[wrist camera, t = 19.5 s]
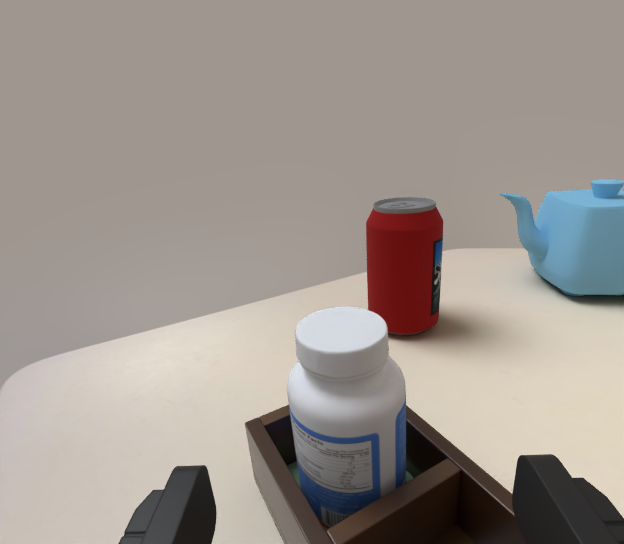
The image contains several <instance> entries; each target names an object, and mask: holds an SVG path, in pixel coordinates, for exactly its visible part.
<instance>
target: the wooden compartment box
mask: <svg viewBox="0 0 624 544" xmlns="http://www.w3.org/2000/svg"><path fill="white" fill-rule="evenodd" d="M245 427H246V433H247V438H248V444H249V450H250V456H251V462H252V467H253V473H254V479H255V481H256V483H257V485H258V488H259V490H260V492H261V494H262V496H263V498H264V500H265V503H266V505H267V507H268V509H269V511H270V513H271V516H272V518H273V520H274V522H275V524H276V526H277V528H278V531H279V533H280V535H281V537H282V539H283V541H284V543H285V544H526V542H525V540H524V537H523V535H522V533H521V531H520V529H519V527H518V525H517V522H516V519H515V516H514V512H513V506H512V495H513V494H511V493H510V492H509V491H508V490H507V489H505V488H504V487H503V486H502V485H501V484H499V483H498V482H497V481H496V480H495V479H494V478H492V477H491V476H490V475H489V474H488V473H486V472H485V471H484V470H483V469H482V468H480V467H479V466H478V465H477V464H476V463H474V462H473V461H472V460H471V459H470V458H468V457H467V456H466V455H465V454H464V453H463V452H461V451H460V450H459V449H458V448H457V447H455V446H454V445H453V444H452V443H451V442H449V441H448V440H447V439H446V438H445V437H443V436H442V435H441V434H440V433H439V432H437V431H436V430H435V429H434V428H433V427H432V426H430V425H429V424H428V423H427V422H426V421H424V420H423V419H422V418H421V417H420V416H418V415H417V414H416V413H415V412H414V411H412V410H411V409H410V408H409V407H408V406H407V405H406V483H405V484H403V485H401V486H400V487H398V488H396V489H395V490H393V491H391V492H390V493H388V494H386V495H385V496H383V497H381V498H380V499H378V500H376V501H374V502H373V503H371V504H369V505H368V506H366V507H364V508H363V509H361V510H359V511H358V512H356V513H354V514H353V515H351V516H349V517H348V518H346V519H344V520H343V521H341V522H339V523H338V524H336V525H334V526H332V527H331V528H329V529H327V530H325V529H324V528H323V526H322V525H321V523H320V521H319V520H318V518H317V516H316V514H315V513H314V511H313V509H312V508H311V506H310V504H309V503H308V501H307V499H306V497H305V496H304V494H303V492H302V491H301V488H300V480H299V472H298V465H297V458H296V452H295V444H294V437H293V430H292V423H291V416H290V409H289V405H287V406H285V407H282V408H280V409H277V410H275V411H273V412H270V413H268V414H265V415H263V416H261V417H259V418H255V419H253V420H251V421H248V422H246V423H245Z"/></svg>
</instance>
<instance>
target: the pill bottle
mask: <svg viewBox="0 0 624 544" xmlns="http://www.w3.org/2000/svg"><path fill="white" fill-rule="evenodd" d="M295 338H296V354H297V358H298V360H299V361H298V362H297V363H296V365H295V366H294V367H293V369H292V371H291V373H290V376H289V379H288V384H287V393H288V401H289V409H290V416H291V423H292V430H293V437H294V444H295V452H296V458H297V465H298V472H299V480H300V488H301V491H302V492H303V494H304V496H305V497H306V499H307V501H308V503H309V504H310V506H311V508H312V509H313V511H314V513H315V514H316V516H317V518H318V520H319V521H320V523H321V525H322V526H323V528H324V529H325V530H327V529H329V528H331V527H332V526H334V525H336V524H338V523H339V522H341V521H343V520H344V519H346V518H348V517H349V516H351V515H353V514H354V513H356V512H358V511H359V510H361V509H363V508H364V507H366V506H368V505H369V504H371V503H373V502H374V501H376V500H378V499H380V498H381V497H383V496H385V495H386V494H388V493H390V492H391V491H393V490H395V489H396V488H398V487H400V486H401V485H403V484H405V483H406V391H405V380H404V376H403V373H402V371H401V369H400V367H399V366H398V365H397V363H396V362H395V361H394V360H393V359H392V358H391V357H390V356H389V352H388V351H389V347H388V328H387V324H386V322H385V321H384V319H383V318H382V317H380V316H379V315H378V314H376V313H374V312H372V311H369V310H366V309H362V308H356V307H332V308H327V309H323V310H319V311H316V312H313V313H311V314H309V315H308V316H306V317H305V318H303V319H302V320H301V321H300V322H299V323H298V325H297V327H296V330H295Z"/></svg>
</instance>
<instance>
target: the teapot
mask: <svg viewBox="0 0 624 544" xmlns="http://www.w3.org/2000/svg"><path fill="white" fill-rule="evenodd" d="M623 185H624V182H623V181H621V180H610V179H603V180H595V181H592V182H591V186H592V190H571V191H554V192H548V193H547V194H546V195H545V197H544V199H543V201H542V204H541V206H540V208H539V211H538V213H537V216H536V218H535V221H534V220H533V214H532V208H531V205H530V203H529V201H528V200H527V199H526V198H525V197H524V196H521V195H514V194H503V193H500V195H502V196H504V197H505V198H507V199H508V200H510V201H511V203H512V204H513V205H514V207H515V209H516V213H517V222H518V235H519V238H520V242H521V243H522V245H523V247H524V248H525V249H526V250H527V251H528V254H529V258H530V261H531V264H532V266H533V267H534V269H535V270H536V271H537V272H538V273H539V274H540V275H541V276H542V277H543V278H544V279H546V280H547V281H549V282H550V283H552V284H553V285H555V286H556V287H558V288H560V289H562V290H561V291H562V292H563V293H565V294H568V295H572V296H583V295H585V294H588V295H624V189H621V188H622V187H623Z"/></svg>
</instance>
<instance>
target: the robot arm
mask: <svg viewBox="0 0 624 544" xmlns="http://www.w3.org/2000/svg"><path fill="white" fill-rule="evenodd" d="M512 506H513V512H514V516H515V519H516V522H517V525H518V527H519V529H520V531H521V533H522V535H523V537H524V540H525V542H526V544H624V518H623V517H622V516H621V514H620V513H619V512H618V511H617V509H616V508H615V507H614V505H613V504H612V503H611V502H610V500H609V499H608V498H607V497H606V496H605V495H604V494H602V493H601V492H600V491H599V490H597V489H596V488H595V487H594V486H592V485H591V484H590V483H589V482H587V481H586V480H585V479H584V478H572V477H571V476H570V474H569V473H568V471H567V470H566V469H565V467H564V466H563V465H562V463H561V462H560V461H559V459H558V458H557V457H556V456H554V455H551V454H548V455H521V456H519V458H518V461H517V468H516V475H515V481H514V488H513V495H512ZM215 525H216V505H215V500H214V496H213V492H212V487H211V483H210V478H209V474H208V470H207V467H206V466H205V465H202V466H177V467H175V468H174V470H173V471H172V473H171V475H170V477H169V480H168V482H167V484H166V486H165V489H164V490H153V491H152V492H151V493H150V494H149V495H148V496H147V497H146V499H145V500H144V501H143V502H142V503H141V504H140V505H139V506H138V507H137V509H136V510H135V512H134V514H133V516H132V518H131V520H130V522H129V524H128V526H127V528H126V530H125V534H124V537H122V538H121V540H120V542H119V544H211V543H212V539H213V535H214V531H215Z"/></svg>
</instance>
